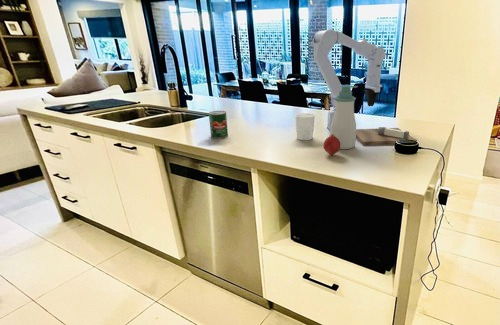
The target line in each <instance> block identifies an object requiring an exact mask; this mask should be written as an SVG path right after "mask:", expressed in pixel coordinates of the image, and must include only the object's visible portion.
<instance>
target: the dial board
mask: <svg viewBox="0 0 500 325" xmlns="http://www.w3.org/2000/svg"><path fill="white" fill-rule="evenodd" d="M388 128H389V129H395V130H401V131H403V130H402V129H400V128H399V127H388ZM402 139H403V138H399V137H393V136H388V135H379V134H378V128H359V129H358V128H356V140H357V141H358V142H359V143H360V144H361V145H362V146H385V145H386V146H387V145H388V146H389V145H394V144H395V142H396V141H399V140H402ZM408 140H414V141H417V142H418V140H417V139H416V138H414V137H413V136H411V134H409V137H408Z"/></svg>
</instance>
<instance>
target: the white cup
mask: <svg viewBox="0 0 500 325" xmlns="http://www.w3.org/2000/svg"><path fill="white" fill-rule="evenodd" d="M315 117H316V115H315V113H310V112H308V113H307V112H303V113H302V112H301V113H297V114H295V130H296V139H297V140H300V141H310V140H312V139H313V138H314V137H313V136H314V128H315Z"/></svg>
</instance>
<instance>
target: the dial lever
mask: <svg viewBox="0 0 500 325" xmlns="http://www.w3.org/2000/svg"><path fill="white" fill-rule="evenodd" d="M389 128H390V127H386V126H379V127H378V128H377V129H378V134H379V135H388V136H393V137H399V138H403V139H408V137H409V135H410V131H407V130H406V131H405V130H402V129H400V130H395V129H389ZM401 130H402V131H401Z"/></svg>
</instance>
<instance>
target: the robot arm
mask: <svg viewBox="0 0 500 325" xmlns="http://www.w3.org/2000/svg"><path fill="white" fill-rule="evenodd" d="M336 44H339V45H343V46H345V47H347V48H350V49H352V50H353V52H354V53H355V54H357V55H359V56H361V57H364V58H366V60H367V69H366V78H365V80H366V81H365V85H364V87H365V88H364V89H365V90H364V93H365V95H366V102H367V107H373V106H374V105H375V103H376V99H377V97H378V96H379V94H380V92H381V88H383V85H382V84H380V83H381V74H382V65H383V62H384V59H385V58H386V55H387V53H386V51H385V48H383V47H382V46H376V45H377V44H376V43H372V42H371V43H370V42H368V39H366V38H365V39H364V38H363V39H359V40H356V39H354V38H352V37H351V36H348V35H346V34H344V33H343V32H341V31H339V30H334V29H332V28H330V29H324V30H318V31H317V32H316V33H315V34H314V36H313V39H312V45H313V60H314V62H315V64H316V66H317V68H318V70H319V71H320V74H321V75H322V78H323V79H324V81H325V83H326V84H325V85H327V88H328V90H329V92H330V95H329V96H330V100H331V105H332V107H333V109H330V110H328V112H327V128H328V130H329V131H330V127H331V123H332V120H333V117H334V113H335V108H336V100H335V98H336V97H337V96H339V91H342V86H343V85H342V83H341V81H340V79H339V77H338V74H336V71H335V68H334V67H333V65H332V62H331V61H330V59H329V54H330V52H331V51H332V49H333V48H334V46H335V45H336ZM366 89H367V90H366Z"/></svg>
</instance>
